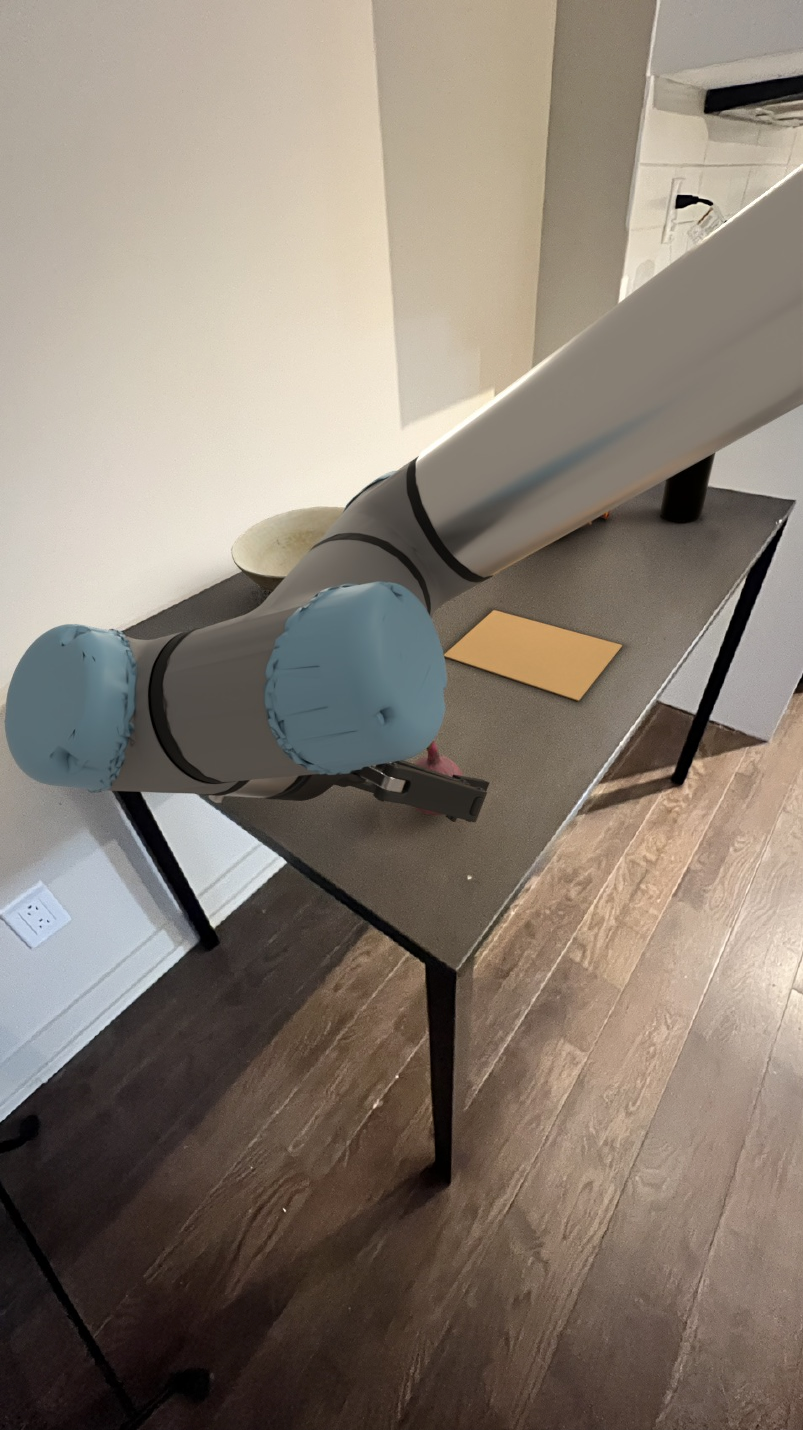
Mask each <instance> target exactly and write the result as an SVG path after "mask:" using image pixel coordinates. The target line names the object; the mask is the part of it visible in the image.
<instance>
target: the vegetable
mask: <svg viewBox="0 0 803 1430" xmlns="http://www.w3.org/2000/svg"><path fill="white" fill-rule="evenodd" d="M425 750H426V751H427V756H425V755H424V756H423V757H420V758H418V759H417V760H415V761H414V762H413V763H412V764H415V765H418V766H421V767H424V768H427V769H430V770H433V771H436V772H439V773H442V774H445V775H448V776H450V777H452V776H453V774H454V775H460V776H464V774H463V773H462V771H461V769H460V767H459V766H458V764H456V763H455V762H454V761H453V760H451V758H448V757H446V756H443V755H440V753H439V750H438V748H437V744H436V742H435V739H434V740H433V741H432V743H431V744H430V745H429V746H428V747H427V748H426V749H425ZM414 808H415V809H416V811H419V812H420V813H422V814H425V815H427V816H440V815H442V814H440V813H436V812H432V811H429V810H425V809H421V808H417V807H414Z"/></svg>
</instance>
